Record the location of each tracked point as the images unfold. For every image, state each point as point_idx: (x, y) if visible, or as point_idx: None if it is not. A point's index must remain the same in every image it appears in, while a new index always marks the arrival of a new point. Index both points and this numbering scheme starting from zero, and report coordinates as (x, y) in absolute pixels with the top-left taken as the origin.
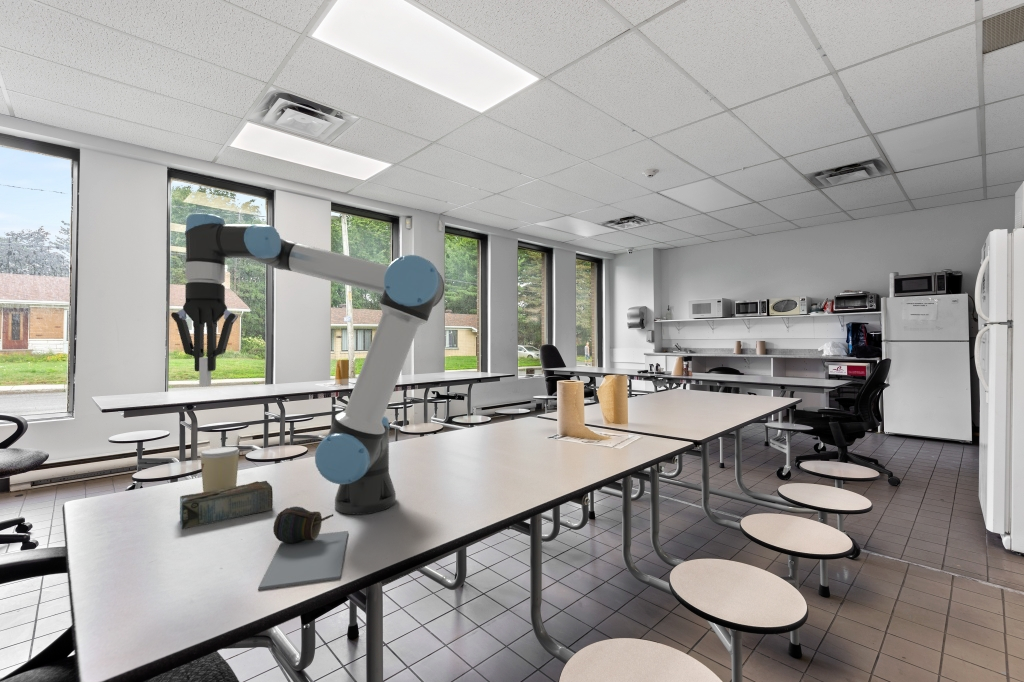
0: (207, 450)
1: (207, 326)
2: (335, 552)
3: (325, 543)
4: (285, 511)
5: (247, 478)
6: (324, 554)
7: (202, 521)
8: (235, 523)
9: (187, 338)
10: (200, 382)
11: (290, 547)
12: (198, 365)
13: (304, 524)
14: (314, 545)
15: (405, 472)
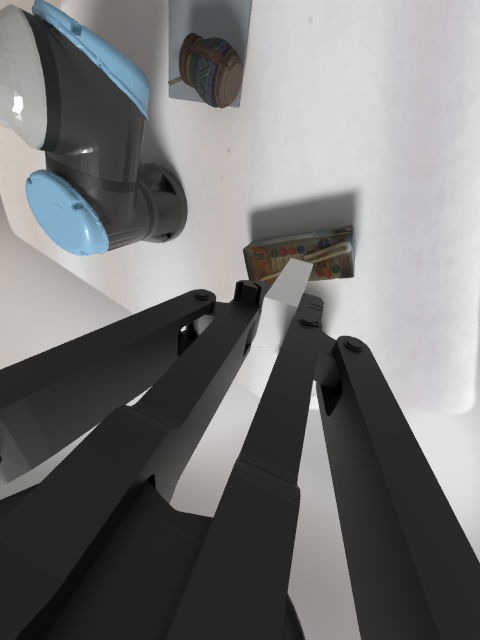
0: (315, 391)
1: (164, 423)
2: (178, 5)
3: None
4: (216, 57)
5: None
6: (190, 1)
7: (328, 230)
8: (291, 212)
9: (357, 416)
10: (308, 267)
11: None
12: (306, 303)
13: (199, 38)
14: None
15: (125, 299)
